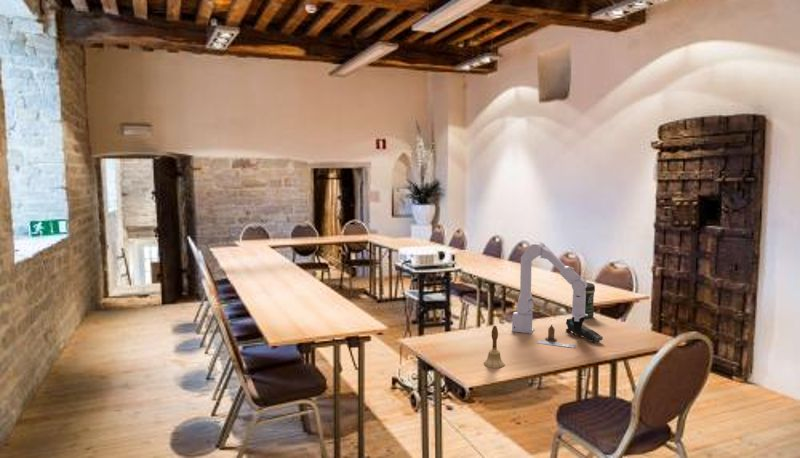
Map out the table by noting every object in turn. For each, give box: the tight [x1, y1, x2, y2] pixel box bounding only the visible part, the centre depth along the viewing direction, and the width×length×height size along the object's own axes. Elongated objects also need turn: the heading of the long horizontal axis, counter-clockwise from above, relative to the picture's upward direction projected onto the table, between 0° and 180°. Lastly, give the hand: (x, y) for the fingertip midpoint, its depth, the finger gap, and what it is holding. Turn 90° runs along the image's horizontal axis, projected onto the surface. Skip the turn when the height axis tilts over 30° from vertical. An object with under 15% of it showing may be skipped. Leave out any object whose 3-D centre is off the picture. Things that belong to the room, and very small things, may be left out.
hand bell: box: [483, 325, 505, 369], centre depth 211 cm, size 8×8×16 cm
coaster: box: [545, 337, 558, 342], centre depth 244 cm, size 5×5×1 cm
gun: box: [565, 318, 603, 344], centre depth 248 cm, size 4×20×10 cm, turn 24°
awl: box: [547, 324, 555, 340], centre depth 244 cm, size 3×3×7 cm
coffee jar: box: [584, 282, 596, 319], centre depth 284 cm, size 10×8×19 cm
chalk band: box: [536, 340, 576, 349], centre depth 238 cm, size 16×4×1 cm, turn 66°
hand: (577, 332), depth 246 cm, fingers closed
